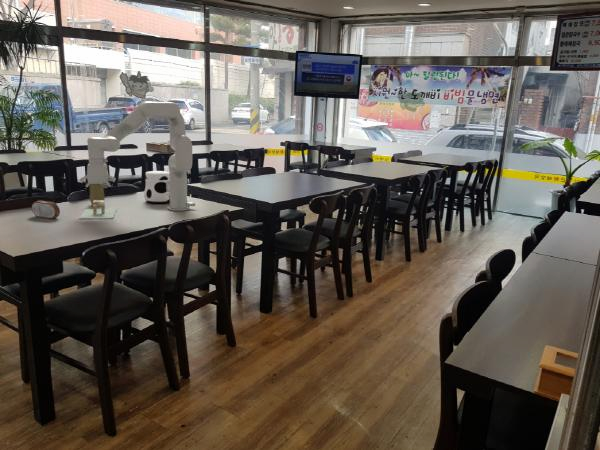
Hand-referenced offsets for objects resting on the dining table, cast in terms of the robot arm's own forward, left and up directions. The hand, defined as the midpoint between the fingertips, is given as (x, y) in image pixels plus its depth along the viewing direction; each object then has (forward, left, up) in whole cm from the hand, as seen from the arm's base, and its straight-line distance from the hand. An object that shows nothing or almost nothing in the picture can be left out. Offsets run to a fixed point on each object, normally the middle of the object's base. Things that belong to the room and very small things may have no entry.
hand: (99, 194), depth 254 cm
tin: (+25, +7, -11) cm, 28 cm away
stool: (0, 0, -10) cm, 10 cm away
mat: (+1, 0, -11) cm, 11 cm away
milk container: (-29, -34, -11) cm, 46 cm away
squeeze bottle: (+5, -25, -11) cm, 27 cm away
